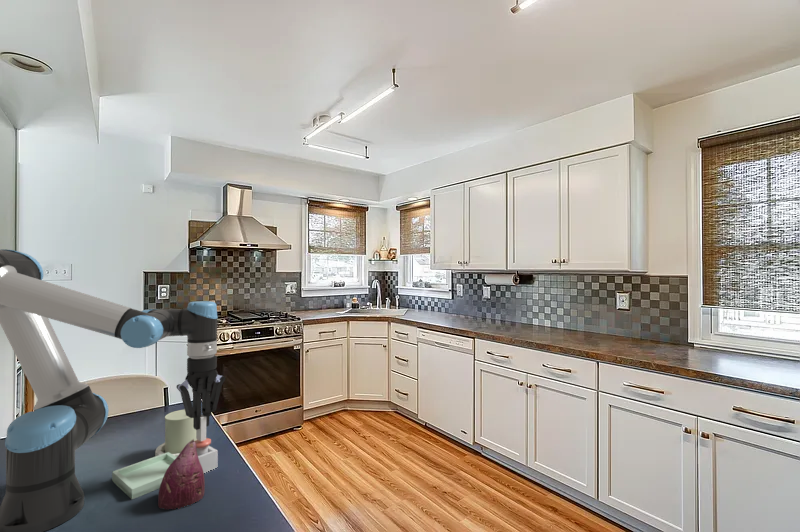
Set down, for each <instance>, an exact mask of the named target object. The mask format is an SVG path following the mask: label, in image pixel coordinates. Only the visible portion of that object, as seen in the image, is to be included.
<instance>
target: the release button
mask: <svg viewBox="0 0 800 532" xmlns="http://www.w3.org/2000/svg"><path fill="white" fill-rule="evenodd" d="M194 442H195V443H196V447H197V455H198V456H200V455H203V454H205V453H208V445H209V446H210V445H212V439H211V438H208V437H206V440H204V441H199V440H196V441H194Z"/></svg>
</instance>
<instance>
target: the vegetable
mask: <svg viewBox="0 0 800 532" xmlns="http://www.w3.org/2000/svg"><path fill="white" fill-rule="evenodd" d="M205 485H206V484H205V474H204V472H203V469H202V466H201V464H200V461H199V458H198V455H197V447H196V443H195V442H194V439H193V440H191V441H190V442H189V443H188V444H187V445H186V446H185V447H184V448H183V450H182V451H181V453H180V454H179V455H178V457H177V458H176V459H175V460H174V461H173V462H172V463H171V465H170V466H169V467H168V469H167V471H166V472H165V474H164V477H163V479H162V482H161V485H160V488H159V489H158V496H157V497H158V499H157V500H158V501H157V506H158V508H159V509H161V508H162V509H161V510H169V509H172V510H179V509H182V508H181V507H183V508H185V507H184V506H187V505H190V506H192V505H191V504H193V503H195V502H197V501H198V502H200V501H201V500H202V499H204V497H203V496H205V490H206V489H205V488H206V487H205ZM200 499H201V500H200ZM199 500H200V501H199ZM198 502H197V503H198ZM195 504H196V503H195ZM193 505H194V504H193ZM187 507H188V506H187ZM163 508H164V509H163ZM176 508H178V509H176Z"/></svg>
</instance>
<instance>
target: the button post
mask: <svg viewBox="0 0 800 532" xmlns="http://www.w3.org/2000/svg"><path fill="white" fill-rule="evenodd" d="M218 454H219V451H218V449H216V448H214V447H213V446H210V445H208V453H205V454H203V455H200V456H198V458H199V461H200V464H201V466H202V469H203V472H204V473H205V474H207V473H209V472H211V471H210V470H212V471H214V470H216V469H215V468H217V467H218V466H219V465H218V463H219V462H218V461H219V455H218ZM218 468H219V467H218ZM218 468H217V469H218ZM213 469H214V470H213ZM208 471H209V472H208ZM206 472H207V473H206Z"/></svg>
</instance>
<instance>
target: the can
mask: <svg viewBox="0 0 800 532" xmlns="http://www.w3.org/2000/svg"><path fill="white" fill-rule="evenodd" d="M193 439H194V441H196V440H197V439H196V429H194V427H193V418H190V417H188V416H186V412H185V409H184V408H183V409H179V410H175V411H171V412H169V413H167V414H166V415H165V416H164V443H165V451H164V453H167V452H169V453H171V454H177V453H181V451H182V450H183V448H184V447H185V446H186V445H187V444H188V443H189V442H190V441H191V440H193Z"/></svg>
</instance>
